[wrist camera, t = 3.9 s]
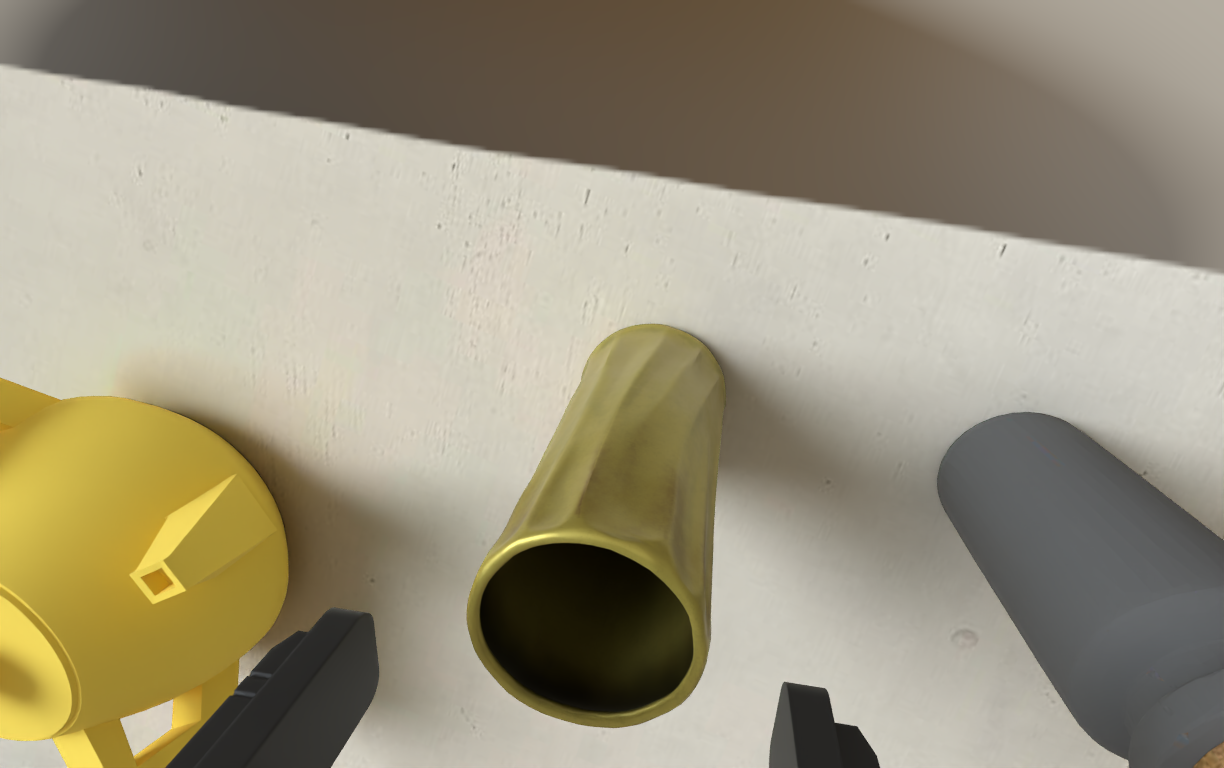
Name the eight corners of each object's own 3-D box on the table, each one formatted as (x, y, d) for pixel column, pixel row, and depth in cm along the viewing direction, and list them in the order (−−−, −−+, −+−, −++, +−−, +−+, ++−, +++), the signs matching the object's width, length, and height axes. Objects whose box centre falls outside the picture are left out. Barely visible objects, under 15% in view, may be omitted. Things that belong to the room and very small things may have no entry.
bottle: (1120, 422, 23) (1703, 816, 9) (1064, 549, 25) (1474, 1023, 12) (958, 399, 24) (1281, 735, 10) (917, 525, 26) (1139, 944, 12)
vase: (728, 455, 27) (735, 755, 13) (590, 457, 28) (470, 735, 14) (723, 318, 24) (725, 512, 11) (573, 326, 26) (418, 510, 12)
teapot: (41, 313, 30) (-358, 409, 19) (353, 452, 30) (135, 630, 19) (39, 565, 36) (-259, 746, 25) (295, 680, 36) (107, 913, 25)
